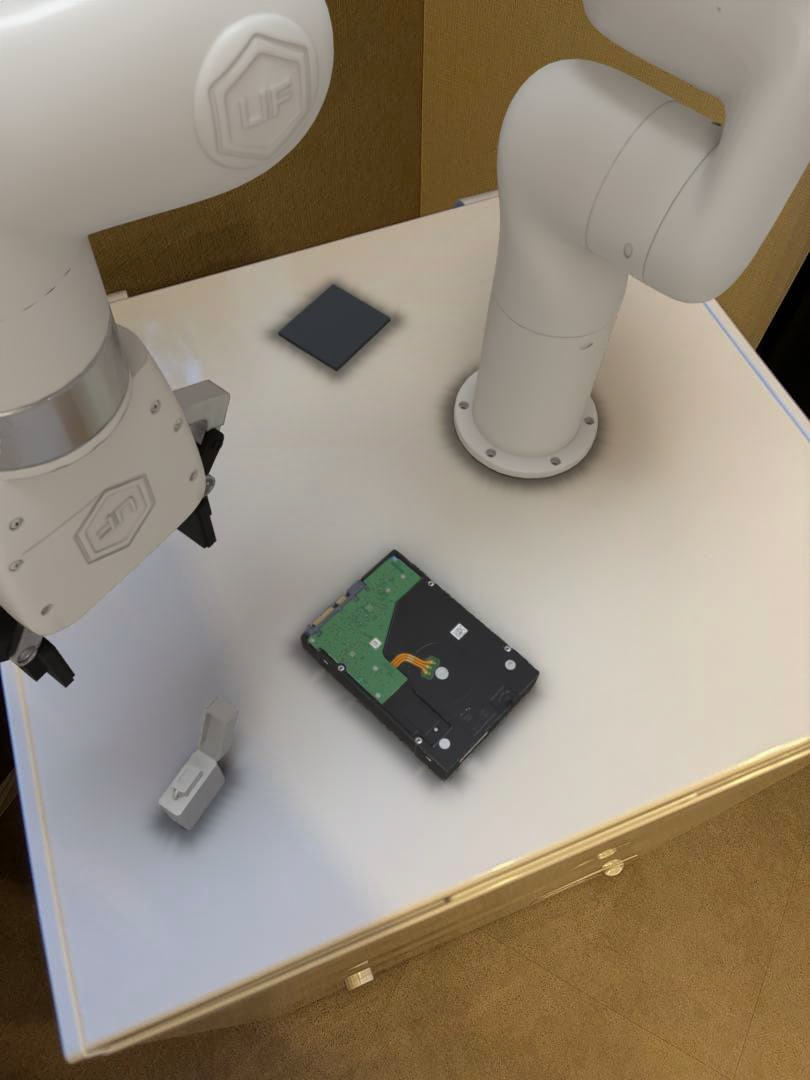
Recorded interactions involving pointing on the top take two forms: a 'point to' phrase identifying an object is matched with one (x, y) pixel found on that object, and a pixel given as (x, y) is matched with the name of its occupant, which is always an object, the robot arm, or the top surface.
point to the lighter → (202, 767)
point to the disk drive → (419, 662)
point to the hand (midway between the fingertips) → (123, 595)
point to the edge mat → (334, 327)
